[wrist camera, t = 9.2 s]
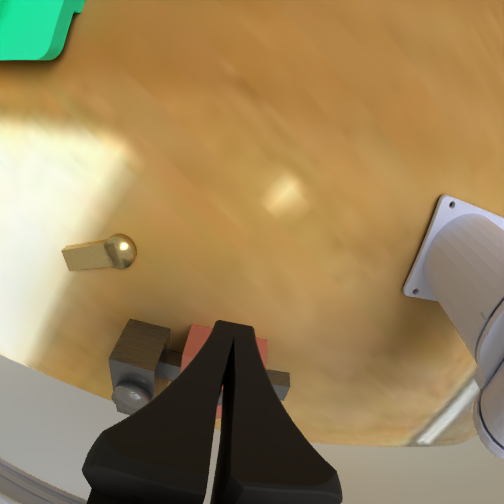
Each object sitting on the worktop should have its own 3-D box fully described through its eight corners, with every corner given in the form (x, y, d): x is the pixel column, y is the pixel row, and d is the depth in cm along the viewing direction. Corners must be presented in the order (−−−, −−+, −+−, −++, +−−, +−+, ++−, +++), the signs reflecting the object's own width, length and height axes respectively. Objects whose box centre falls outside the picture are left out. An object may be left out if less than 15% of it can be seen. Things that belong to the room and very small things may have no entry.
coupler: (297, 353, 26) (301, 409, 20) (276, 402, 29) (276, 453, 24) (129, 319, 25) (103, 368, 20) (132, 373, 28) (113, 419, 23)
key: (131, 231, 22) (126, 236, 21) (140, 262, 23) (136, 267, 22) (65, 242, 22) (60, 246, 22) (75, 269, 23) (70, 274, 23)
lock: (266, 339, 25) (265, 380, 21) (248, 392, 28) (245, 430, 24) (192, 323, 25) (179, 362, 21) (184, 379, 28) (174, 416, 24)
